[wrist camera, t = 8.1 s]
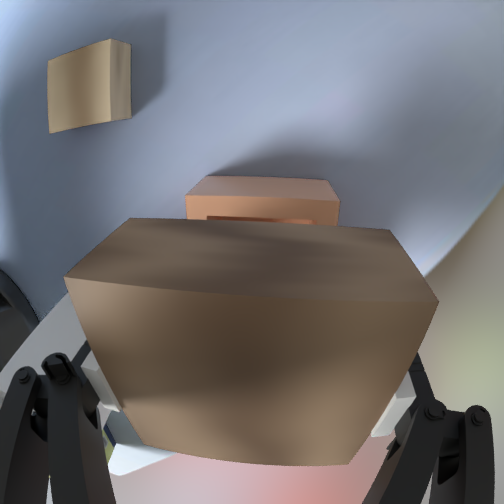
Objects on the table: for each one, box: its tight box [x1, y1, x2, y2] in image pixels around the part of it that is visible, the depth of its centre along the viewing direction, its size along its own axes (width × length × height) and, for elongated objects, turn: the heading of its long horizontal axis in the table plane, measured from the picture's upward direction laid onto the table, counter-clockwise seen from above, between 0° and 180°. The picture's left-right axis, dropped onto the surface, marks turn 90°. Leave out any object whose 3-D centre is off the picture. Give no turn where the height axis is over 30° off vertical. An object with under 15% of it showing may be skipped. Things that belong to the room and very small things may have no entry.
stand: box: [47, 38, 132, 134], centre depth 17 cm, size 6×6×3 cm
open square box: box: [185, 176, 340, 226], centre depth 20 cm, size 9×9×5 cm
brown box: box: [63, 218, 439, 466], centre depth 11 cm, size 10×10×4 cm
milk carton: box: [0, 292, 111, 430], centre depth 20 cm, size 7×7×19 cm
